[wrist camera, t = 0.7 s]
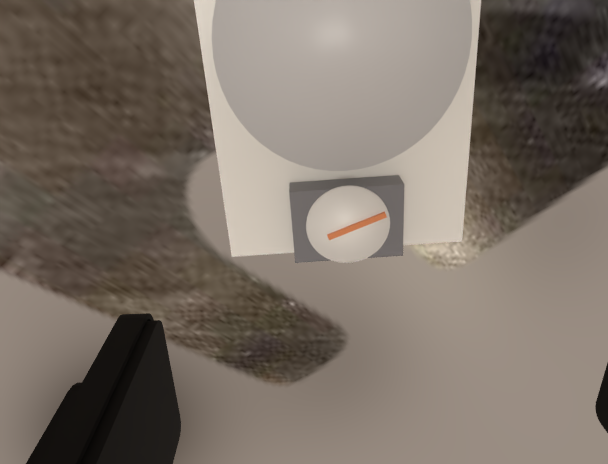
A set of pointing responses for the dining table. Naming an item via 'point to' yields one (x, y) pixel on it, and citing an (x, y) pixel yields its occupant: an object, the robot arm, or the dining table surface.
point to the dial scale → (340, 122)
